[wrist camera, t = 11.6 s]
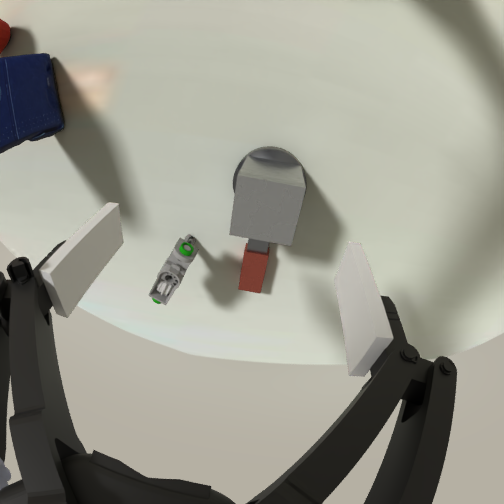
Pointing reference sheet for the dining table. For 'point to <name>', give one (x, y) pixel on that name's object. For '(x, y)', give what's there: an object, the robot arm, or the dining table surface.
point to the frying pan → (255, 249)
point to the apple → (4, 34)
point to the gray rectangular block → (267, 200)
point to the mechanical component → (173, 270)
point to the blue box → (28, 100)
